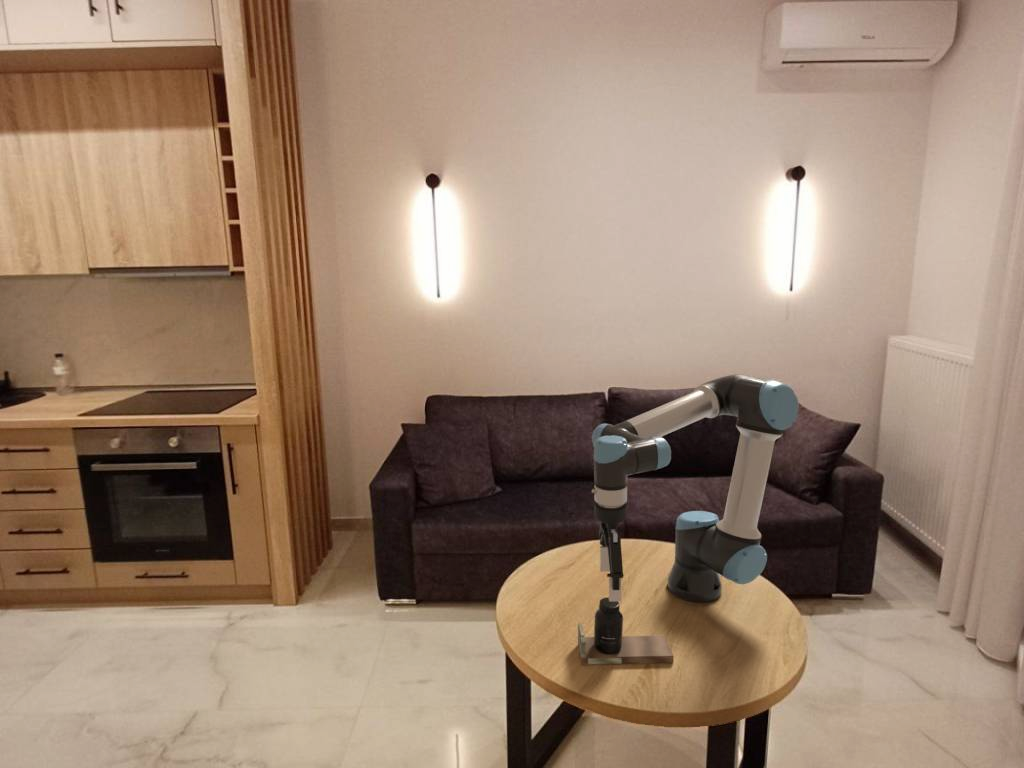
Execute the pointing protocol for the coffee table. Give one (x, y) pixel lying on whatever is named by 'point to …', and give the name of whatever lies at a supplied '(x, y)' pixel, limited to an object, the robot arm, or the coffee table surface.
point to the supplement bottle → (608, 627)
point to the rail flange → (626, 650)
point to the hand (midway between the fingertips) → (610, 585)
